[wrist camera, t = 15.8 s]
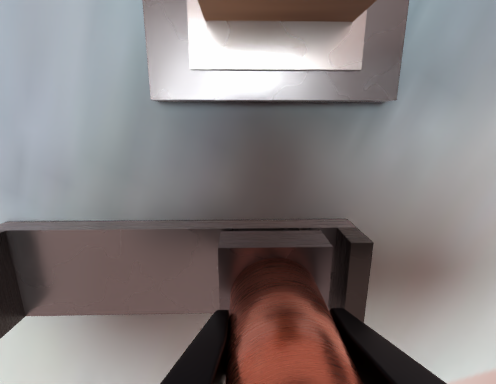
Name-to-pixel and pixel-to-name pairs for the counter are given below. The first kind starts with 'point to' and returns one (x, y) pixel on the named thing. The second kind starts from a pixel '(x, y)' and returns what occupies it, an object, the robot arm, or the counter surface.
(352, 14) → the block
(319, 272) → the handle
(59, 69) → the counter surface
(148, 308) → the rail
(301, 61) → the plate
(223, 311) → the robot arm
